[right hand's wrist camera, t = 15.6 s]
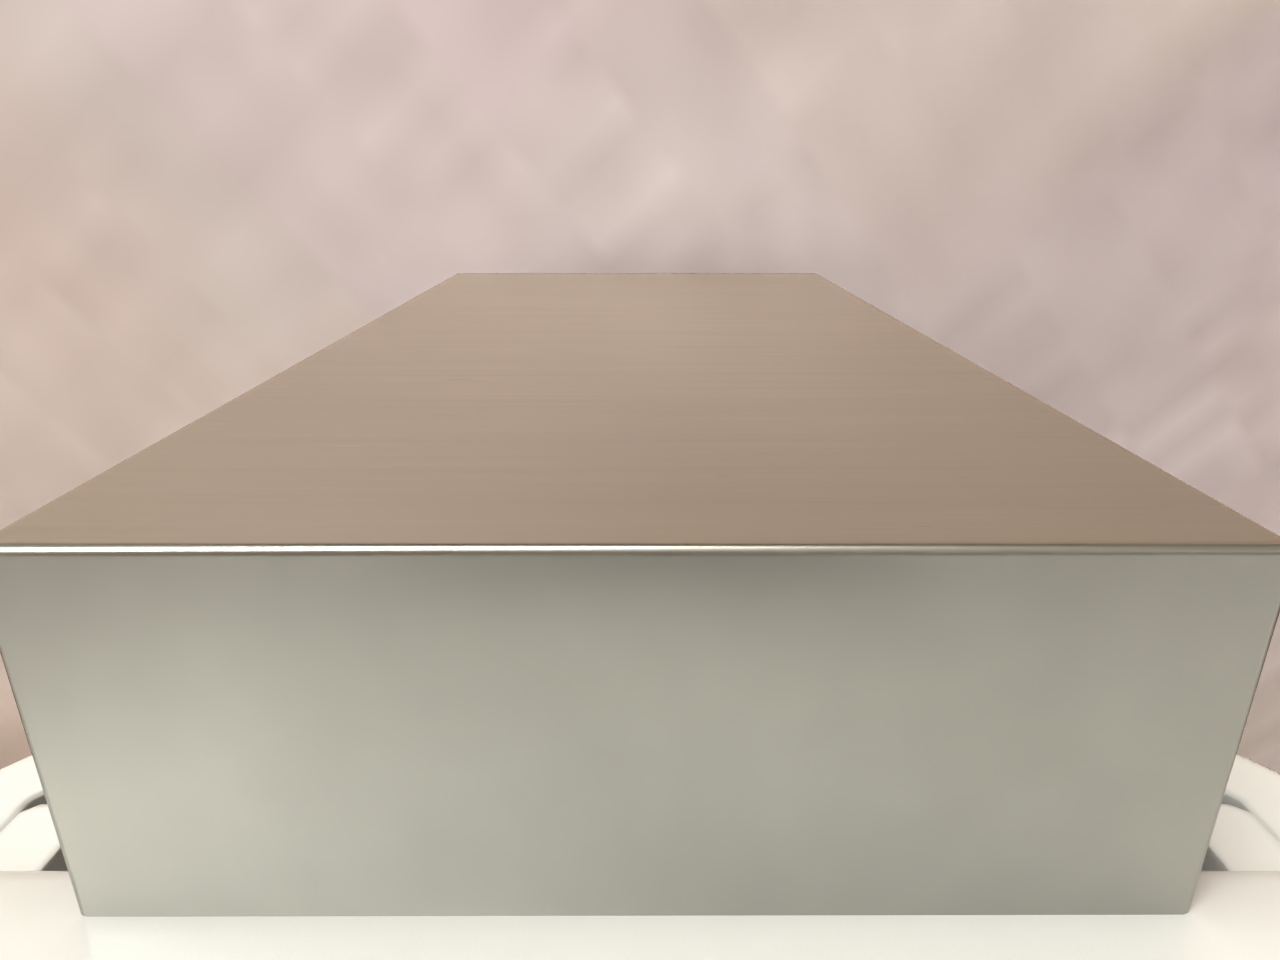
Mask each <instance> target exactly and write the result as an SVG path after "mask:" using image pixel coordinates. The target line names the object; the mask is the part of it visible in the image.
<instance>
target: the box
mask: <svg viewBox="0 0 1280 960" xmlns="http://www.w3.org/2000/svg"><path fill="white" fill-rule="evenodd" d="M1279 612H1280V536H1278V535H1276V534H1274V533H1273V532H1271V531H1269V530H1267V529H1266V528H1264V527H1262V526H1260V525H1259V524H1257V523H1255V522H1253V521H1252V520H1250V519H1248V518H1246V517H1244V516H1243V515H1241V514H1239V513H1237V512H1236V511H1234V510H1232V509H1230V508H1229V507H1227V506H1225V505H1223V504H1222V503H1220V502H1218V501H1216V500H1214V499H1213V498H1211V497H1209V496H1207V495H1206V494H1204V493H1202V492H1200V491H1199V490H1197V489H1195V488H1193V487H1192V486H1190V485H1188V484H1186V483H1184V482H1183V481H1181V480H1179V479H1177V478H1176V477H1174V476H1172V475H1170V474H1169V473H1167V472H1165V471H1163V470H1162V469H1160V468H1158V467H1156V466H1154V465H1153V464H1151V463H1149V462H1147V461H1146V460H1144V459H1142V458H1140V457H1139V456H1137V455H1135V454H1133V453H1132V452H1130V451H1128V450H1126V449H1124V448H1123V447H1121V446H1119V445H1117V444H1116V443H1114V442H1112V441H1110V440H1109V439H1107V438H1105V437H1103V436H1102V435H1100V434H1098V433H1096V432H1094V431H1093V430H1091V429H1089V428H1087V427H1086V426H1084V425H1082V424H1080V423H1079V422H1077V421H1075V420H1073V419H1072V418H1070V417H1068V416H1066V415H1064V414H1063V413H1061V412H1059V411H1057V410H1056V409H1054V408H1052V407H1050V406H1049V405H1047V404H1045V403H1043V402H1042V401H1040V400H1038V399H1036V398H1035V397H1033V396H1031V395H1029V394H1027V393H1026V392H1024V391H1022V390H1020V389H1019V388H1017V387H1015V386H1013V385H1012V384H1010V383H1008V382H1006V381H1005V380H1003V379H1001V378H999V377H997V376H996V375H994V374H992V373H990V372H989V371H987V370H985V369H983V368H982V367H980V366H978V365H976V364H975V363H973V362H971V361H969V360H967V359H966V358H964V357H962V356H960V355H959V354H957V353H955V352H953V351H952V350H950V349H948V348H946V347H945V346H943V345H941V344H939V343H937V342H936V341H934V340H932V339H930V338H929V337H927V336H925V335H923V334H922V333H920V332H918V331H916V330H915V329H913V328H911V327H909V326H907V325H906V324H904V323H902V322H900V321H899V320H897V319H895V318H893V317H892V316H890V315H888V314H886V313H885V312H883V311H881V310H879V309H877V308H876V307H874V306H872V305H870V304H869V303H867V302H865V301H863V300H862V299H860V298H858V297H856V296H855V295H853V294H851V293H849V292H847V291H846V290H844V289H842V288H840V287H839V286H837V285H835V284H833V283H832V282H830V281H828V280H826V279H825V278H823V277H821V276H819V275H817V274H667V273H458V274H456V275H454V276H453V277H451V278H449V279H447V280H445V281H444V282H442V283H440V284H438V285H436V286H435V287H433V288H431V289H429V290H428V291H426V292H424V293H422V294H420V295H419V296H417V297H415V298H413V299H412V300H410V301H408V302H406V303H404V304H403V305H401V306H399V307H397V308H396V309H394V310H392V311H390V312H388V313H387V314H385V315H383V316H381V317H380V318H378V319H376V320H374V321H372V322H371V323H369V324H367V325H365V326H363V327H362V328H360V329H358V330H356V331H355V332H353V333H351V334H349V335H347V336H346V337H344V338H342V339H340V340H339V341H337V342H335V343H333V344H331V345H330V346H328V347H326V348H324V349H323V350H321V351H319V352H317V353H315V354H314V355H312V356H310V357H308V358H307V359H305V360H303V361H301V362H299V363H298V364H296V365H294V366H292V367H290V368H289V369H287V370H285V371H283V372H282V373H280V374H278V375H276V376H274V377H273V378H271V379H269V380H267V381H266V382H264V383H262V384H260V385H258V386H257V387H255V388H253V389H251V390H250V391H248V392H246V393H244V394H242V395H241V396H239V397H237V398H235V399H233V400H232V401H230V402H228V403H226V404H225V405H223V406H221V407H219V408H217V409H216V410H214V411H212V412H210V413H209V414H207V415H205V416H203V417H201V418H200V419H198V420H196V421H194V422H193V423H191V424H189V425H187V426H185V427H184V428H182V429H180V430H178V431H177V432H175V433H173V434H171V435H169V436H168V437H166V438H164V439H162V440H160V441H159V442H157V443H155V444H153V445H152V446H150V447H148V448H146V449H144V450H143V451H141V452H139V453H137V454H136V455H134V456H132V457H130V458H128V459H127V460H125V461H123V462H121V463H120V464H118V465H116V466H114V467H112V468H111V469H109V470H107V471H105V472H104V473H102V474H100V475H98V476H96V477H95V478H93V479H91V480H89V481H87V482H86V483H84V484H82V485H80V486H79V487H77V488H75V489H73V490H71V491H70V492H68V493H66V494H64V495H63V496H61V497H59V498H57V499H55V500H54V501H52V502H50V503H48V504H47V505H45V506H43V507H41V508H39V509H38V510H36V511H34V512H32V513H30V514H29V515H27V516H25V517H23V518H22V519H20V520H18V521H16V522H14V523H13V524H11V525H9V526H7V527H6V528H4V529H2V530H0V653H1V656H2V659H3V662H4V666H5V669H6V672H7V675H8V679H9V682H10V685H11V688H12V692H13V695H14V698H15V701H16V704H17V708H18V711H19V714H20V717H21V721H22V724H23V727H24V730H25V734H26V737H27V740H28V743H29V747H30V750H31V753H32V756H33V759H34V763H35V766H36V769H37V772H38V776H39V779H40V782H41V785H42V789H43V792H44V795H45V798H46V802H47V805H48V808H49V811H50V814H51V818H52V821H53V824H54V827H55V831H56V834H57V837H58V840H59V844H60V847H61V850H62V853H63V857H64V860H65V863H66V866H67V870H68V873H69V876H70V879H71V882H72V886H73V889H74V892H75V895H76V899H77V902H78V905H79V908H80V912H81V915H83V916H86V917H228V916H748V915H1184V914H1186V913H1188V911H1189V908H1190V905H1191V902H1192V898H1193V895H1194V892H1195V888H1196V885H1197V882H1198V879H1199V875H1200V872H1201V869H1202V865H1203V862H1204V859H1205V856H1206V852H1207V849H1208V846H1209V842H1210V839H1211V836H1212V833H1213V829H1214V826H1215V823H1216V819H1217V816H1218V813H1219V810H1220V806H1221V803H1222V800H1223V796H1224V793H1225V790H1226V787H1227V783H1228V780H1229V777H1230V773H1231V770H1232V767H1233V764H1234V760H1235V757H1236V754H1237V750H1238V747H1239V744H1240V741H1241V737H1242V734H1243V731H1244V727H1245V724H1246V721H1247V717H1248V714H1249V711H1250V708H1251V704H1252V701H1253V698H1254V694H1255V691H1256V688H1257V685H1258V681H1259V678H1260V675H1261V671H1262V668H1263V665H1264V662H1265V658H1266V655H1267V652H1268V648H1269V645H1270V642H1271V639H1272V635H1273V632H1274V629H1275V625H1276V622H1277V619H1278V616H1279Z"/></svg>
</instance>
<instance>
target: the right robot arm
mask: <svg viewBox="0 0 1280 960" xmlns="http://www.w3.org/2000/svg"><path fill="white" fill-rule="evenodd" d="M0 960H1280V774H1279V773H1277V772H1275V771H1273V770H1271V769H1268V768H1266V767H1264V766H1262V765H1260V764H1258V763H1255V762H1253V761H1251V760H1249V759H1247V758H1245V757H1243V756H1240V755H1238V754H1236V757H1235V760H1234V764H1233V767H1232V770H1231V773H1230V777H1229V780H1228V783H1227V787H1226V790H1225V793H1224V796H1223V800H1222V803H1221V806H1220V810H1219V813H1218V816H1217V819H1216V823H1215V826H1214V829H1213V833H1212V836H1211V839H1210V842H1209V846H1208V849H1207V852H1206V856H1205V859H1204V862H1203V865H1202V869H1201V872H1200V875H1199V879H1198V882H1197V885H1196V888H1195V892H1194V895H1193V898H1192V902H1191V905H1190V908H1189V911H1188V913H1186V914H1184V915H748V916H228V917H86V916H83V915H81V912H80V908H79V905H78V902H77V899H76V895H75V892H74V889H73V886H72V882H71V879H70V876H69V873H68V870H67V866H66V863H65V860H64V857H63V853H62V850H61V847H60V844H59V840H58V837H57V834H56V831H55V827H54V824H53V821H52V818H51V814H50V811H49V808H48V805H47V802H46V798H45V795H44V792H43V789H42V785H41V782H40V779H39V776H38V772H37V769H36V766H35V763H34V759H33V756H32V755H31V756H29V757H27V758H24V759H22V760H20V761H18V762H16V763H14V764H11V765H9V766H7V767H5V768H3V769H0Z"/></svg>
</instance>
